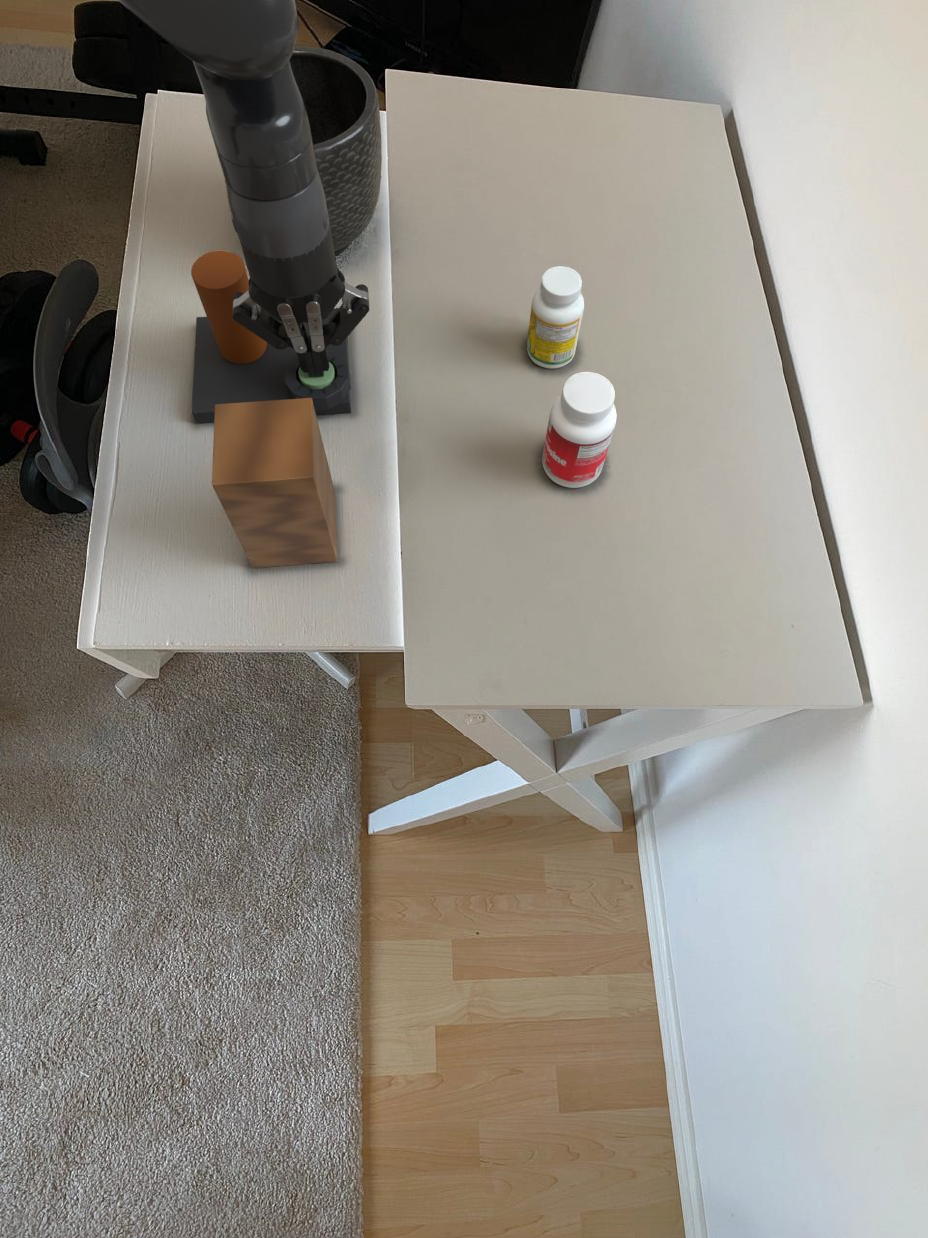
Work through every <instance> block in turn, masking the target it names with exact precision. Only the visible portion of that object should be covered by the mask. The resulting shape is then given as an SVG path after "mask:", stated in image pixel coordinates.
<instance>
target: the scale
mask: <svg viewBox="0 0 928 1238" xmlns="http://www.w3.org/2000/svg"><path fill="white" fill-rule="evenodd" d="M338 309H339V307H335V308H334V309H333V310H332V312H331V313H330V315H329V316H328V317H327V318H326V319H324V320H323V324H324V325H325V324H328V323H329V320H330V319H331V317H332V316H333V315H334V314H335V312H336V311H337V310H338ZM304 324H305V327H306V331H307V335H310V332H309V324H308V323H304ZM194 338H195V339H194V356H193V375H192V376H193V377H192V393H191V395H192V397H191V415H192V417H193V420H194V422H195V424H198V425H199V424H214V415H215V404H228V403H243V402H257V401H271V400H286V399H300V398H312V401H313V405H314V409H315V413H316V416H324V415H325V416H326V415H338V414H351V413H352V403H351V401H352V400H351V399H352V398H351V390H352V382H351V373H350V361H349V359H350V358H349V341H348V337H347V338H346V339H345V340H344V342H343V343H342V344H341V345H339V346H334V345H332V344H330V345H328V346H327V350H328V354H329V362H330V363H331V364H332V365H333V367H334V372H335V377H336V379H335V380H334V382H333V383H332V384H331V385H329V386H327V387H325V388H324V389H313V390H311V389H309V388H306V387H303V386H301V382H300V378H299V374H298V372H299V368H300V364H299V360H298V356H297V352H296V351H295V350H294V349H293V348H291V347H287V348H286V349H284V350H279V349H276V348H275V347H273V346H272V345H270V344H269V343H267V347H266V350H265V352H264V354H263V355H262V356H261V357H260V358H258V359H257V360H255V361H253V362H250V363H246V364H236V363H232V362H229V361H228V360H226V359H225V358H224V357H223V356H222V355H221V353H220V350H219V347H218V345H217V342H216V339H215V337H214V334H213V331H212V329H211V326H210V323H209V321H208V318H207V316H197V317H196V321H195V337H194Z"/></svg>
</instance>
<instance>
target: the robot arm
mask: <svg viewBox="0 0 928 1238" xmlns="http://www.w3.org/2000/svg"><path fill="white" fill-rule="evenodd" d="M118 1H119V3H121V4H122V5H123V6H124V7H125V8H126V9H127V10H128V11H130V12H131V13H133V14H134V15H135V16H136V17H137V18H138V19H139V20H141V21H142V22H143V23H144V24H145V25H147V26H148V27H149V28H150V29H152V30H153V32H155V33H156V34H157V35H159V36H160V37H161V38H162V39H163V40H165V41H166V42H167V43H168V44H169V45H171V46H172V47H173V48H175V49H176V50H177V51H178V52H180V53H181V54H182V55H183V56H185V57H186V58H188V59H189V60H190V61H192V63H193V66H194V69H195V72H196V76H197V77H198V80H199V83H200V86H201V90H202V93H203V97H204V101H205V107H206V106H207V111H208V116H209V121H210V126H211V131H210V133H211V132H212V134H211V137H212V136H213V137H212V140H213V143H214V147H215V150H216V155H217V158H218V161H219V164H220V168H221V171H222V175H223V178H224V181H225V187H226V194H227V195H226V196H227V201H228V206H229V211H230V215H231V222H232V225H233V229H234V232H235V233H236V234H237V238H238V241H239V244H240V248H241V252H242V256H243V258H244V261H245V262H244V263H245V264H246V268H247V269H246V270H247V272H248V275H249V278H248V279H249V290H248V291H246V292H245V293H244V294H243V293H240V292H237V293H235V294H234V295H233V306H232V311H233V319H234V320H235V321H236V322H238V323H239V324H241V325H242V326H244V327H245V328H247V329H248V330H250V331H251V332H253V333H254V334H256V335H257V336H259V337H260V338H261V339H263V340H264V341H266V342H267V343H269V344H270V345H272V346H273V347H275V348H276V349H279V350H284V349H286V348H287V347H291V348H293V349H294V350H295V351H296V352H297V356H298V360H299V364H300V368H301V370H302V371H303V372H308V374H309V377H321V376H324V371H328V370H329V354H328V350H327V346H328V345H330V344H332V345H334V346H339V345H341V344H342V343H343V342H344V340H345V339H346V338H348V337H349V336H350V335H351V334H352V332H353V331H354V330H355V329H356V327H357V326H358V325H359V324H360V323H361V321H362V320H363V319H364V318H365V317H366V316H367V314H368V313H369V312H370V295H369V287H368V286H367V285H366V284H363V283H362V284H361V283H360V284H357V285H356V286H353V285H351V284H349V283H348V282H346V278H345V274H343V272H342V271H341V270H340V269H339V267H338V265H337V260H336V256H335V253H334V247H333V241H332V235H331V229H330V223H329V216H328V211H327V205H326V199H325V193H324V189H323V185H322V182H321V179H320V176H319V173H318V169H317V165H316V159H315V154H314V148H313V142H312V136H311V131H310V125H309V120H308V115H307V112H306V108H305V105H304V102H303V99H302V96H301V94H300V91H299V89H298V86H297V84H296V81H295V78H294V75H293V72H292V69H291V65H290V58H291V56H292V54H293V52H294V49H295V46H297V43H298V42H297V41H298V34H299V20H298V11H297V5H296V1H295V0H118ZM340 301H342V303H341V305H340V306H339V307H338V308H339V309H338V310H337V311H336V312H335V314H334V315H333V316H332V317H331V319H330V320H329V323H328V324H325V325H324V324H323V320H324V319H326V318H327V317H328V316H329V315H330V313H331V312H332V310H333V309H334V308H336V306H337V305H338V304H339V302H340ZM304 323H308V324H309V332H310V335H307V331H306V327H305V324H304Z"/></svg>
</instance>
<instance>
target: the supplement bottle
mask: <svg viewBox="0 0 928 1238" xmlns="http://www.w3.org/2000/svg"><path fill="white" fill-rule="evenodd" d="M582 286H583V280H582V277H581V275H580V274H579V272H578V271H576V270H575V269H573V268H572V267H569V266H564V265H558V266H551V267H550V268H548V269H547V270H546V271H544V272H543V274H542V277H541V281H540V286H539V288H538V289H536V290H535V292H534V294H533V296H532V300H531V307H530V315H529V316H530V317H529V324H528V333H527V339H526V340H527V341H526V350H527V354H528V356H529V358H530V359H531V361H532V362H533V363H534V364H535V365H537V366H539V367H542V368H545V369H559V368H562V367H565V366H567V365H568V364H570V363H571V362H572V360H573V359H574V357H575V354H576V350H577V345H578V342H579V341H578V340H579V336H580V332H581V331H580V330H581V324H582V320H583V315H584V310H585V299H584V295H583V294H582Z"/></svg>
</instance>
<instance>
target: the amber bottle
mask: <svg viewBox="0 0 928 1238" xmlns="http://www.w3.org/2000/svg"><path fill="white" fill-rule="evenodd" d="M247 272H248V271H247V269H246V266H245V262H244V261H243V259H242V258H241V257H240V256H239V255H238V254H236V253H234V252H232V251H229V250H212V251H208V252H206V253H204V254H202V255H201V256H198V258H196V260H195V261H194V262H193V264H192V266H191V270H190V274H191V279H192V281H193V284H194V286H195V289H196V291H197V294H198V297H199V300H200V302H201V304H202V307H203V310H204V313H205V315H206V316H205V317H207V318H208V321H209V323H210V326H211V329H212V331H213V334H214V337H215V339H216V342H217V345H218V347H219V350H220V353H221V355H222V356H223V357H224V358H225V359H226V360H228V361H229V362H232V363H236V364H246V363H250V362H253V361H255V360H257V359H258V358H260V357H261V356H262V355H263V354H264V352H265V350H266V347H267V342H266V341H264V340H263V339H261V338H260V337H259V336H257V335H256V334H254V333H253V332H251V331H250V330H248V329H247V328H245V327H244V326H242V325H241V324H239V323H238V322H236V321H235V320H234V319H233V311H232V306H233V295H234V294H235V293H237V292H240V293H243V294H244V293H245V292H246V291H248V290H249V279H250V278H249V276H248V273H247Z"/></svg>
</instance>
